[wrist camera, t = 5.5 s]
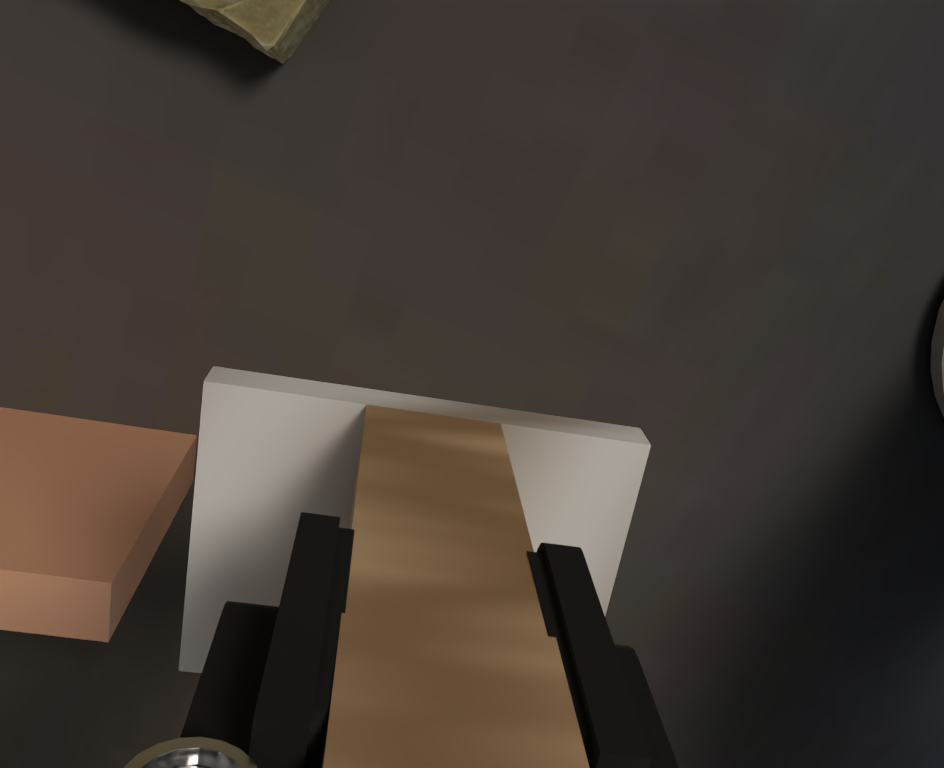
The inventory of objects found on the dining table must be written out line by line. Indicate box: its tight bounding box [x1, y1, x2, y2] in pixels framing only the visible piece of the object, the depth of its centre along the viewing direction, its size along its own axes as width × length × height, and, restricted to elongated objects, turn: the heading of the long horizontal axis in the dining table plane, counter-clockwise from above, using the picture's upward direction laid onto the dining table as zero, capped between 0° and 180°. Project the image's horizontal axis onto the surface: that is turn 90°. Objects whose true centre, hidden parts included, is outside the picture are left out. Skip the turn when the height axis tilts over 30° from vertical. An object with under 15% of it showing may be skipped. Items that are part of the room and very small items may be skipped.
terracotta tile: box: [0, 407, 197, 642], centre depth 29 cm, size 10×2×10 cm, turn 79°
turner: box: [179, 366, 651, 768], centre depth 12 cm, size 8×6×12 cm
